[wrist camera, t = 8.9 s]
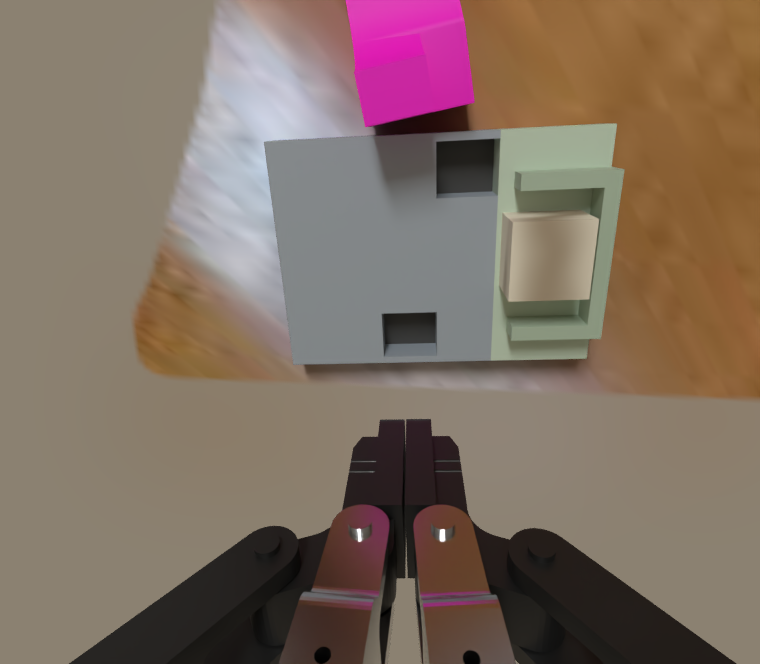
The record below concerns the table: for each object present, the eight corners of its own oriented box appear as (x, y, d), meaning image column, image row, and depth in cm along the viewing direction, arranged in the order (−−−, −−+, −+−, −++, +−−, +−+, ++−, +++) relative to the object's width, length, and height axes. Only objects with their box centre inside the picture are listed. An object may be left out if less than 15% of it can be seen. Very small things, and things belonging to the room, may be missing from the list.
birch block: (579, 209, 32) (599, 219, 29) (571, 282, 34) (589, 299, 31) (502, 212, 32) (512, 222, 29) (498, 284, 34) (508, 301, 31)
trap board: (601, 123, 32) (630, 123, 28) (575, 344, 38) (596, 371, 34) (273, 140, 34) (255, 143, 29) (299, 350, 40) (287, 377, 36)
